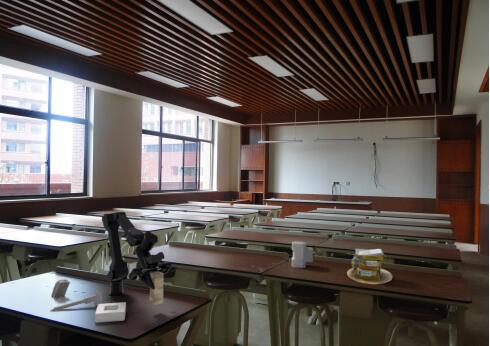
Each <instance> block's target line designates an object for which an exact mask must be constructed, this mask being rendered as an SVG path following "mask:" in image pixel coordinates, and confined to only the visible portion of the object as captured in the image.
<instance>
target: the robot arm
mask: <svg viewBox="0 0 490 346" xmlns="http://www.w3.org/2000/svg"><path fill="white" fill-rule="evenodd" d="M101 222H102V225H103V228H104V229H105V230H106V231H107V233H108V242H109V243H108V244H109V249H110V256H111V263H110V264H109V268H108V270H109V271H108V272H107V274H106V276H105V280H106V282H108V283H110V290H109V293H108V296H117V295H118V296H119V295H123V294H124V291H125V289H124V287H123V286H124V281H125V280H128V279H129V281H130V282H133V281H137V279H138V281H139V282H142V283H144V285H146V286H148V287H149V289H150V288H152V289H153V290H154V289H155V287H154V284H153V282H152V280H151V277H150V273H154V272H161V273H164V275H165V274H167V273H169V271H170V270H171V268H172V267H173V265H172V263H171V262H170V261H164V262H163V260H165V254H164V252H163V251H159V252H158V253H156V254H152V253H151V251H152V250H153V249H154V247H155V246H156V245H157V243H158V241H159V238H158V236H157V235H156V234H154V233H152V232H151V231H149V230H148V231H145V232H143V231H142V230H140V229H138V228H136V227H135V225H134V224H133V222H132V221H131V220H130V219H129V218H128V216H127V213H126V212H125V211H123V210H122V211H115V212H109V213H108V212H107V213H104V214H103V215H102V216H101ZM120 227H121V229H122V230H123V233H125V236H126V242H127V243H128V246H130V248H132V247H135V248H134V250H133V253H132V254H133V256H135V255H136V257H137V260H138V267H134V268H132V269H131V271H130V270H129V267H128V266H129V265H128V261H127V260H125V259H123V255H122V254H123V253H122V248H121V247H122V246H121V239H120V233H119V228H120ZM160 262H161V264H160V265H159V263H160ZM158 265H159V266H158ZM139 266H141V267H139ZM129 271H130V272H129ZM164 286H165V285H164V283H163V287H164Z"/></svg>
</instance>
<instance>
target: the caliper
mask: <svg viewBox="0 0 490 346" xmlns="http://www.w3.org/2000/svg"><path fill="white" fill-rule="evenodd" d="M98 300H99V304H103V296H102V293H100V291H97V292H95V294H93V295H90V296H87V297H84V298H82V299H80V300H76V301H72V302H69V303H65V304H61V305H57V306H55V307H53V308H51V309H50V312H52V311H54V312H55V310H57V311H61V310H64V309H67V308H72V307H75V306H78V305H82V304H85V305H88V304H91V303H92V302H93V303H94V304H95V306H96V307H98Z"/></svg>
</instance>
